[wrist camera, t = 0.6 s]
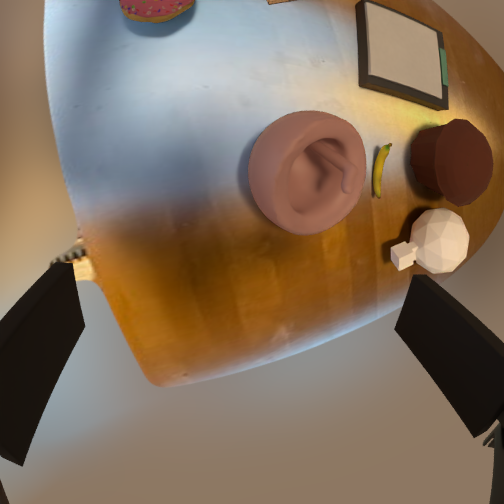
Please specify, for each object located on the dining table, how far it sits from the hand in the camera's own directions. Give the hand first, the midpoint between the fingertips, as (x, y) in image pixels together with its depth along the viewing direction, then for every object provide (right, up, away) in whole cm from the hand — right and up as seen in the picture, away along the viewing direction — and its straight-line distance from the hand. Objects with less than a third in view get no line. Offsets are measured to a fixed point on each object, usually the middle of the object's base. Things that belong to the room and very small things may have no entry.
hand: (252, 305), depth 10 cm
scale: (+20, +28, +19) cm, 40 cm away
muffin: (+26, +15, +25) cm, 39 cm away
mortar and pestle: (+5, +11, +22) cm, 26 cm away
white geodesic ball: (+23, +5, +28) cm, 36 cm away
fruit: (+16, +12, +24) cm, 31 cm away
